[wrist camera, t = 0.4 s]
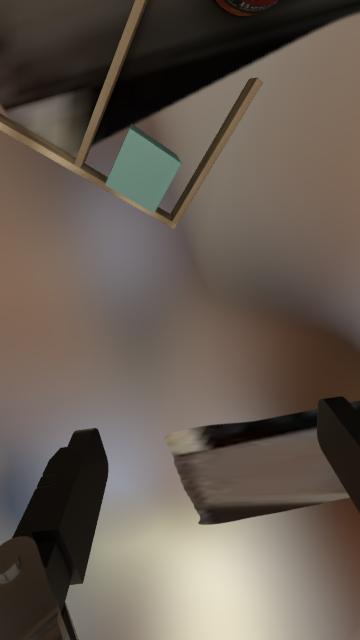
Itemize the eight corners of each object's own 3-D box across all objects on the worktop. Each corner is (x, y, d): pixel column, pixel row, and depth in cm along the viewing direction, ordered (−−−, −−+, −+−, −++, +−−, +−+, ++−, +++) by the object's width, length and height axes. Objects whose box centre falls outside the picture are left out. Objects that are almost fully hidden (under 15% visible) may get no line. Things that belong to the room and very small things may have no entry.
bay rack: (-213, -3, 21) (-249, -12, 19) (-242, -367, 14) (-302, -440, 12) (172, 221, 34) (173, 229, 32) (254, 83, 27) (263, 82, 25)
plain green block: (109, 174, 30) (104, 186, 27) (131, 123, 28) (129, 128, 24) (152, 199, 32) (153, 214, 28) (176, 154, 30) (181, 163, 26)
